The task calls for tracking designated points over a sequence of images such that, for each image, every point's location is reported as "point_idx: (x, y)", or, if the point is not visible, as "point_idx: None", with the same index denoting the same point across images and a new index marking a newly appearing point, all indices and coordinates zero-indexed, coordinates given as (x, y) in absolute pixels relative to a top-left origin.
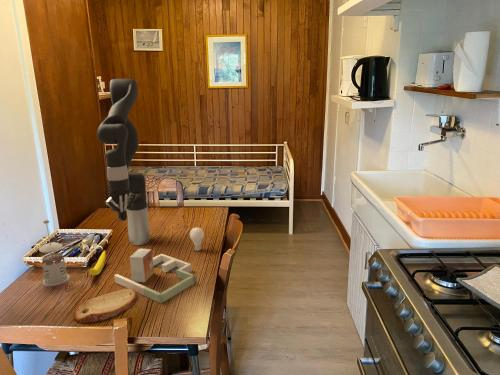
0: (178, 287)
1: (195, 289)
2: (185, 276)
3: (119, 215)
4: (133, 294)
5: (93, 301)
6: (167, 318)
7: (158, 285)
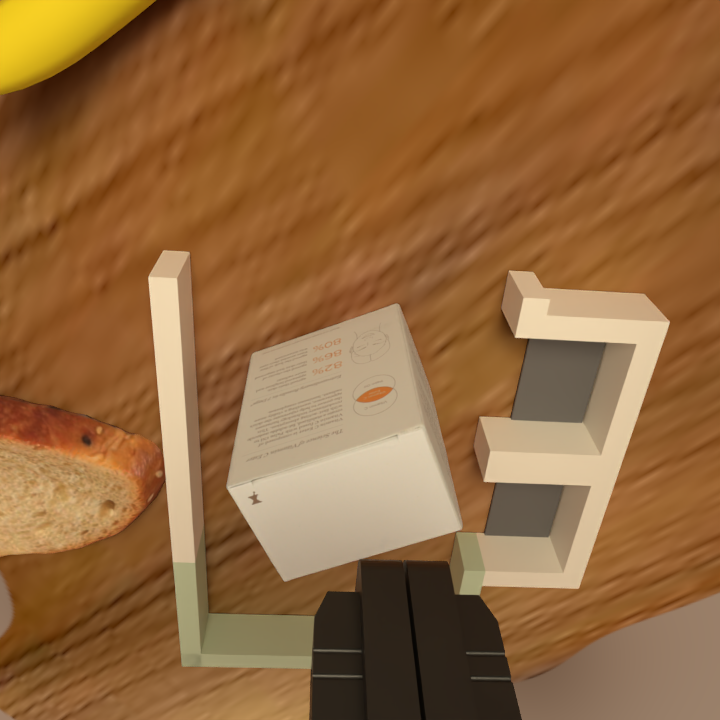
0: None
1: None
2: None
3: (321, 713)
4: (117, 520)
5: None
6: (129, 700)
7: None
